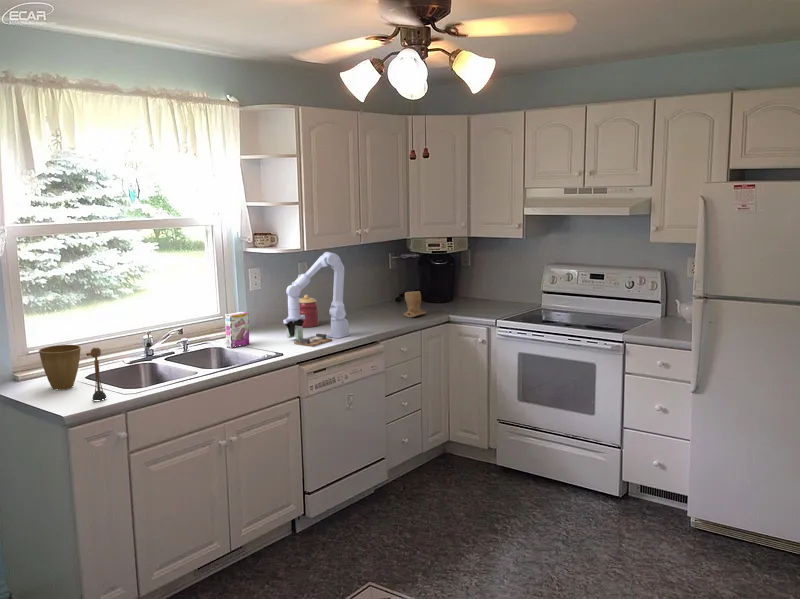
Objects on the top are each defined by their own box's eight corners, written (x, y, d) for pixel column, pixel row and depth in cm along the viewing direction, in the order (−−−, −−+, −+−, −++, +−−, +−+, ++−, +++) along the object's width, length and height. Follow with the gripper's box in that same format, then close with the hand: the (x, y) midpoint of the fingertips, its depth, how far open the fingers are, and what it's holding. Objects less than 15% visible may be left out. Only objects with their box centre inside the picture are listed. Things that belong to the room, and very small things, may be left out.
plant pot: (65, 394, 274) (62, 353, 272) (33, 391, 278) (29, 351, 276) (92, 383, 288) (88, 345, 286) (61, 381, 292) (57, 343, 290)
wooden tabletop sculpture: (95, 403, 262) (90, 349, 259) (87, 401, 265) (82, 348, 262) (109, 398, 267) (104, 346, 264) (101, 397, 270) (97, 345, 266)
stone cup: (411, 313, 437) (411, 288, 435) (428, 314, 431) (428, 290, 428) (398, 317, 424) (397, 292, 422) (415, 318, 418) (415, 293, 416)
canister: (315, 322, 411) (314, 292, 408) (321, 326, 399) (320, 295, 396) (293, 324, 406) (292, 293, 403) (299, 328, 394) (298, 297, 391)
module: (292, 336, 367) (291, 324, 366) (302, 337, 363) (302, 326, 362) (287, 338, 363) (286, 326, 362) (297, 339, 360) (297, 327, 359)
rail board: (313, 338, 368) (313, 332, 367) (331, 340, 361) (331, 335, 361) (294, 344, 355) (293, 338, 355) (313, 346, 349) (312, 340, 348)
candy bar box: (232, 348, 347) (230, 315, 345) (225, 347, 350) (223, 314, 348) (250, 344, 356) (248, 312, 353) (244, 343, 359) (242, 311, 356)
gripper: (297, 306, 369) (298, 331, 371) (278, 310, 357) (279, 337, 359) (307, 307, 365) (308, 333, 367) (288, 311, 353) (290, 338, 355)
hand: (295, 335), depth 363 cm, fingers closed on module, 4 cm apart
